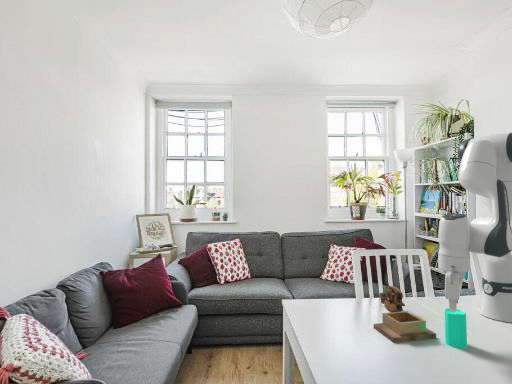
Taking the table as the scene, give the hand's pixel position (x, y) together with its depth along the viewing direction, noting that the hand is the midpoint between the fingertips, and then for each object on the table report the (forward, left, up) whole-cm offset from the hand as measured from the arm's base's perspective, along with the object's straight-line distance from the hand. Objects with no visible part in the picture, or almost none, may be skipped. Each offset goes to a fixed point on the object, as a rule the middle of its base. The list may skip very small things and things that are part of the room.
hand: (454, 306), depth 104 cm
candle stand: (+11, -11, -12) cm, 19 cm away
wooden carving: (+2, -32, -12) cm, 34 cm away
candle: (0, 0, -12) cm, 12 cm away
